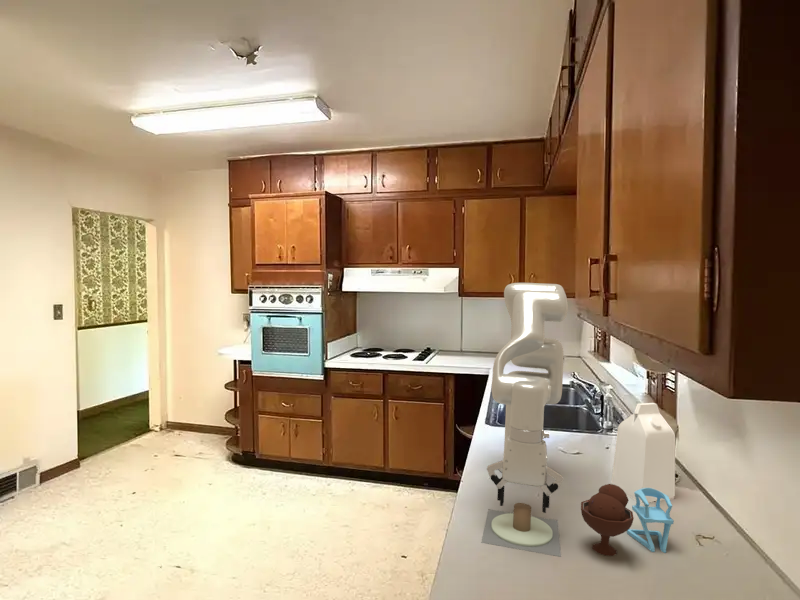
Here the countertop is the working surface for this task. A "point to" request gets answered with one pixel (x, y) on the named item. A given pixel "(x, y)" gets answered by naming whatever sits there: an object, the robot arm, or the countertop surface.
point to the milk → (645, 453)
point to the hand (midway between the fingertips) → (522, 507)
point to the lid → (522, 527)
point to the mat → (491, 538)
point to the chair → (652, 518)
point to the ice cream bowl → (607, 516)
